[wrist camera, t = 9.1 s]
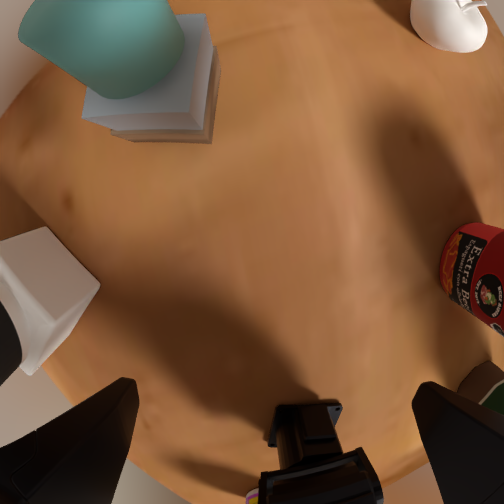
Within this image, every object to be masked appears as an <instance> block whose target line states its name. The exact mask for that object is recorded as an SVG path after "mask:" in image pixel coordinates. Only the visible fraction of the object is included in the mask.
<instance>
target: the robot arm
mask: <svg viewBox="0 0 504 504" xmlns="http://www.w3.org/2000/svg"><path fill="white" fill-rule="evenodd" d="M138 408H139V395H138V390H137V384H136V381H135V380H134V379H130V378H125V377H121V378H119V379H118V380H116V381H114V382H113V383H111V384H110V385H108V386H107V387H105V388H103V389H102V390H100V391H99V392H97V393H95V394H94V395H92V396H91V397H89V398H87V399H86V400H84V401H83V402H81V403H79V404H78V405H76V406H74V407H73V408H71V409H69V410H68V411H66V412H65V413H63V414H61V415H60V416H58V417H56V418H55V419H53V420H51V421H50V422H48V423H46V424H45V425H43V426H41V427H39V428H38V429H37V430H36V431H32V432H31V433H29V434H27V435H25V436H24V437H22V438H20V439H18V440H16V441H14V442H12V443H10V444H8V445H6V446H3V447H1V448H0V504H111V503H112V500H113V497H114V493H115V490H116V487H117V484H118V481H119V478H120V475H121V472H122V469H123V466H124V463H125V460H126V458H127V455H128V452H129V448H130V445H131V440H132V435H133V431H134V426H135V422H136V417H137V413H138ZM342 408H343V407H342V405H341V403H330V404H310V405H279V406H277V407H276V408H275V412H274V417H273V421H272V425H271V429H270V434H269V438H268V442H267V443H268V447H277V449H278V456H279V464H280V470H276V471H270V472H268V471H265V472H261V479H259V490H258V503H257V504H383V502H384V501H383V500H384V498H383V492H382V488H381V484H380V481H379V479H378V476H377V474H376V472H375V470H374V468H373V467H372V465H371V463H370V461H369V459H368V458H367V456H366V454H365V452H364V450H363V449H362V447H359V448H356V449H355V450H353V451H350V452H347V453H343V450H342V447H341V444H340V442H339V439H338V436H337V433H336V430H335V425H336V423H337V420H338V418H339V416H340V413H341V411H342ZM412 409H413V412H414V416H415V419H416V422H417V426H418V429H419V433H420V437H421V440H422V443H423V446H424V448H425V451H426V453H427V456H428V459H429V461H430V464H431V467H432V469H433V472H434V475H435V478H436V481H437V484H438V487H439V490H440V493H441V496H442V499H443V502H444V504H504V415H501V414H499V413H497V412H495V411H493V410H491V409H488V408H486V407H484V406H482V405H480V404H478V403H476V402H474V401H472V400H470V399H467V398H465V397H463V396H461V395H459V394H457V393H455V392H453V391H451V390H449V389H447V388H445V387H443V386H441V385H439V384H437V383H435V382H433V381H428V382H423V383H422V384H421V385H420V386H419V388H418V390H417V392H416V394H415V396H414V398H413V400H412Z"/></svg>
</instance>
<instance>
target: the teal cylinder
mask: <svg viewBox="0 0 504 504" xmlns="http://www.w3.org/2000/svg"><path fill="white" fill-rule="evenodd" d="M18 38H19V40H20V41H21V42H22V43H24V44H25V45H27V46H28V47H30V48H31V49H33V50H34V51H36V52H37V53H39V54H40V55H42V56H43V57H45V58H46V59H48V60H49V61H51V62H52V63H54V64H55V65H57V66H58V67H60V68H61V69H63V70H64V71H66V72H67V73H69V74H70V75H72V76H73V77H75V78H76V79H77V80H79V81H80V82H82V83H83V84H85V85H86V86H87V87H89V88H90V89H92V90H93V91H95V92H96V93H97V94H99V95H100V96H102V97H104V98H107V99H125V98H129V97H132V96H135V95H137V94H140V93H142V92H144V91H146V90H147V89H149V88H151V87H152V86H154V85H155V84H157V83H158V82H159V81H160V80H162V79H163V78H164V77H165V76H166V75H167V74H168V73H169V72H170V71H171V70H172V68H173V67H174V66H175V64H176V63H177V61H178V60H179V58H180V56H181V54H182V52H183V48H184V43H185V36H184V33H183V31H182V29H181V27H180V25H179V23H178V21H177V19H176V17H175V15H174V13H173V11H172V9H171V7H170V5H169V3H168V2H167V0H35V1H34V2H33V4H32V5H31V6H30V8H29V9H28V11H27V12H26V14H25V16H24V18H23V20H22V22H21V25H20V28H19V32H18Z"/></svg>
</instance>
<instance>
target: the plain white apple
mask: <svg viewBox="0 0 504 504" xmlns="http://www.w3.org/2000/svg"><path fill="white" fill-rule="evenodd" d="M485 5H487V3H486V2H485V1H474V2H472V1H471V0H412V1H411V9H410V21H411V24H412V26H413V28H414V30H415V31H416V32H417V34H418V35H419V36H420V37H421V39H422V40H423V41H425V42H426V43H428V44H429V45H431V46H433V47H435V48H437V49H440V50H446V51H453V52H461V53H467V52H473V51H475V50H477V49H479V48H480V47H481V46H482V45H483V43H484V41H485V39H486V36H487V25H486V22H485V20H484V18H483V16H482V15H481V13H480V11H479V10H478V8H477V6H485Z"/></svg>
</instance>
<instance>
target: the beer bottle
mask: <svg viewBox="0 0 504 504" xmlns="http://www.w3.org/2000/svg"><path fill="white" fill-rule="evenodd" d="M457 394H459V395H461V396H463V397H465V398H467V399H470V400H472V401H474V402H476V403H478V404H480V405H482V406H484V407H486V408H488V409H491V410H493V411H495V412H497V413H499V414H501V415H504V372H503V371H502V370H501V369H500V368H499V367H498V366H496V365H495V364H494V363H492V362H491V361H487V362H485V363H483V364H481V365H479V366H477V367H475V368H474V369H473V370H472V372H471V373H470V374H469V375H468V376H467V377H466V378H465V380H464V381H463V382H462V383H461V384H460V387H459V389H458V392H457Z"/></svg>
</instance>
